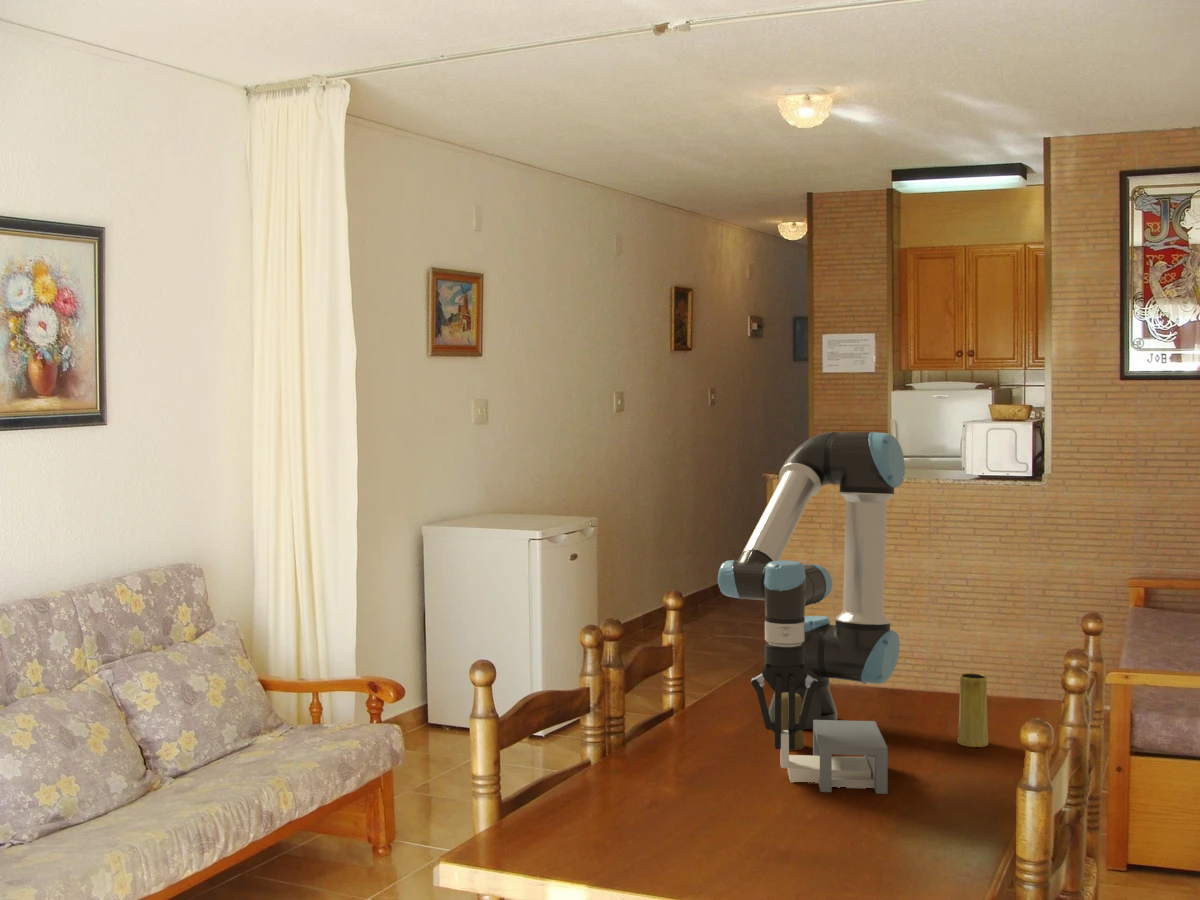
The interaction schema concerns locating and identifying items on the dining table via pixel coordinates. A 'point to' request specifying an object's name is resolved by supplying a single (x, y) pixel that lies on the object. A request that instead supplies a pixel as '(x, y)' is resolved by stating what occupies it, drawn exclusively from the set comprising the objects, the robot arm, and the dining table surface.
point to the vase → (973, 710)
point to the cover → (842, 767)
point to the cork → (784, 718)
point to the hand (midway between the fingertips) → (784, 765)
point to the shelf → (850, 752)
